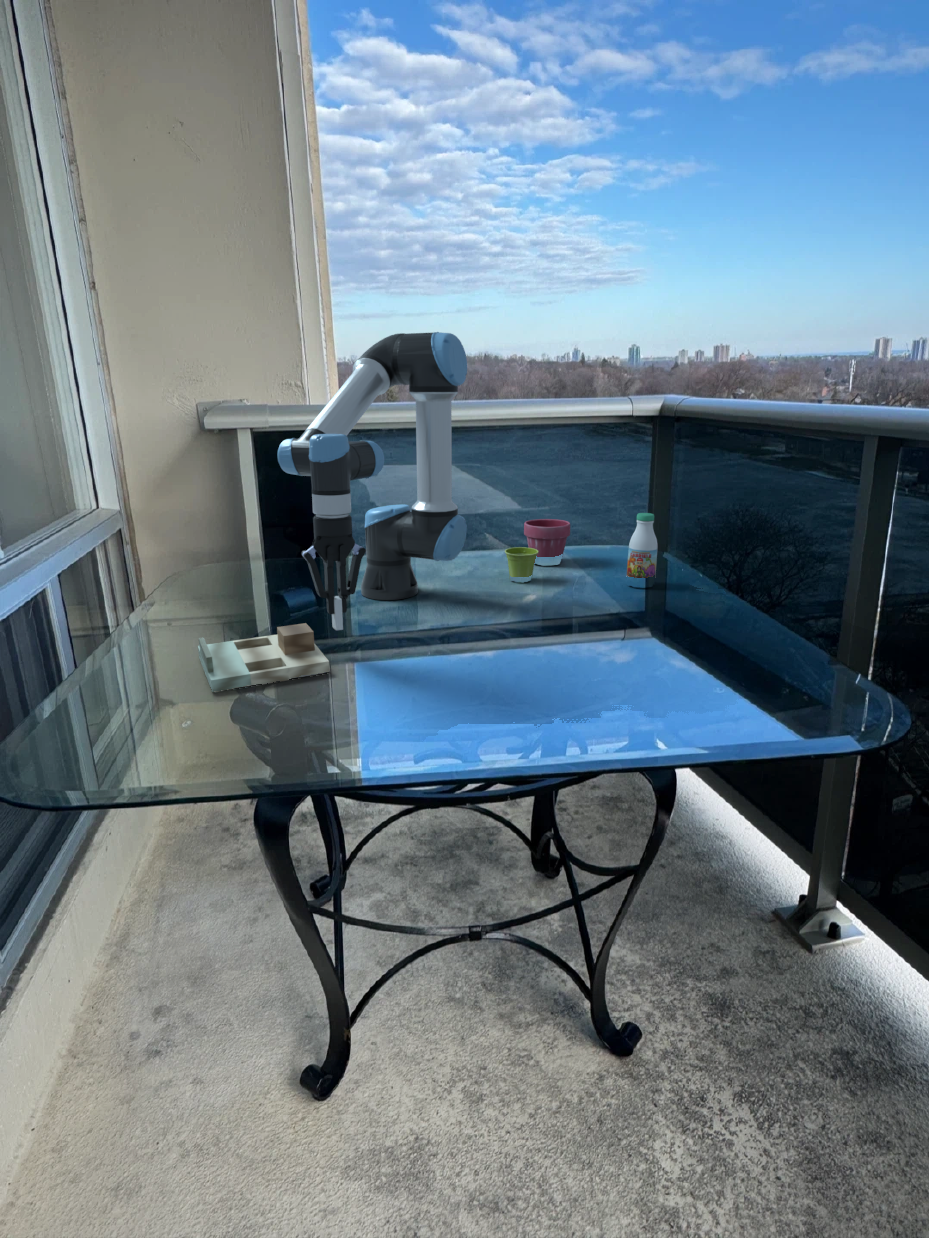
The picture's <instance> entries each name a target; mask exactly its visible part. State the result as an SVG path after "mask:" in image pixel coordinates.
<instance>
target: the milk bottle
mask: <svg viewBox="0 0 929 1238" xmlns="http://www.w3.org/2000/svg"><path fill="white" fill-rule="evenodd" d="M654 523H655V514H654V513H650V512H639V513H637V514H636V527H635V530H634V532H633V533H632V536H631V537H630V540H629V544H628V551H627V553H628V555H627V566H626V577H627V576H628V577H634V578H648V577H653V576H654V575H655V576H656V574H657V573H656V572H657V571H656V570H657V562H658V561H657V559H658V558H657V557H658V539H657V536H656V534H655V531H654Z"/></svg>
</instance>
